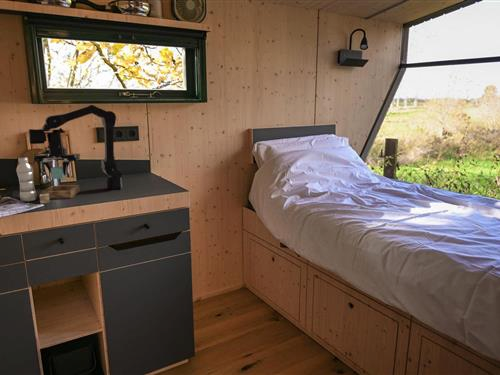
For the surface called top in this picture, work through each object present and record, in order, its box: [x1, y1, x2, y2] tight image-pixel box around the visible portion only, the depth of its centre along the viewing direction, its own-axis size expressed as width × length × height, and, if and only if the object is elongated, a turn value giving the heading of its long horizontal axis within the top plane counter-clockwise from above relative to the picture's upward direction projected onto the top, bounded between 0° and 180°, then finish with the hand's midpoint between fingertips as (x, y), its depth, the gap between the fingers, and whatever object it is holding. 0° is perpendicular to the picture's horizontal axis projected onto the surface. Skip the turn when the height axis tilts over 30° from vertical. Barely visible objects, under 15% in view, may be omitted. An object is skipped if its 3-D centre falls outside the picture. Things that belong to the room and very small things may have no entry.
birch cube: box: [39, 193, 51, 204], centre depth 167 cm, size 4×4×4 cm
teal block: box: [50, 166, 67, 180], centre depth 177 cm, size 5×5×5 cm
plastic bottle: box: [16, 156, 37, 203], centre depth 167 cm, size 6×7×20 cm
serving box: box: [40, 184, 81, 200], centre depth 179 cm, size 13×13×4 cm
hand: (59, 175), depth 177 cm, fingers closed on teal block, 5 cm apart
